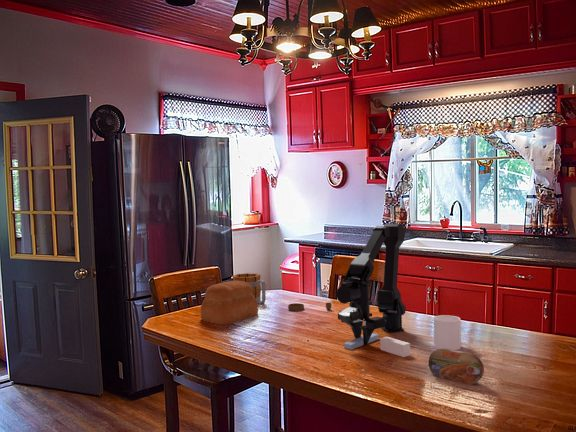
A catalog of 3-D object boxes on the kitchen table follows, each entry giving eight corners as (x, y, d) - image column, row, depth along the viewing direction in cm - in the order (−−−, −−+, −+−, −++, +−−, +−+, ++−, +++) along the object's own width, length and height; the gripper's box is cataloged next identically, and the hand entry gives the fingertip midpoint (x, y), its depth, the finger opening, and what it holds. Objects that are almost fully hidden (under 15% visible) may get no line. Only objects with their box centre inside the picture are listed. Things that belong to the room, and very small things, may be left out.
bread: (262, 319, 221) (261, 280, 220) (226, 330, 204) (224, 288, 203) (233, 314, 232) (232, 276, 231) (196, 324, 215) (195, 284, 214)
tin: (428, 376, 147) (427, 347, 147) (432, 373, 150) (432, 344, 149) (481, 388, 138) (481, 357, 137) (485, 384, 140) (485, 354, 140)
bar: (371, 341, 184) (371, 333, 184) (378, 342, 182) (378, 334, 182) (344, 351, 172) (343, 343, 172) (351, 353, 170) (351, 344, 170)
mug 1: (227, 307, 247) (226, 275, 246) (248, 302, 256) (247, 272, 256) (254, 312, 233) (253, 279, 232) (276, 307, 242) (275, 276, 242)
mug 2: (471, 347, 173) (470, 316, 173) (452, 355, 165) (452, 322, 165) (447, 342, 179) (447, 312, 179) (428, 350, 171) (428, 318, 171)
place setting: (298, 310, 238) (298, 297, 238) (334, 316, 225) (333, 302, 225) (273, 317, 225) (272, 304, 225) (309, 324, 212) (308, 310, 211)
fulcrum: (369, 355, 167) (369, 340, 167) (395, 348, 174) (395, 333, 174) (394, 364, 158) (394, 348, 158) (421, 356, 165) (420, 341, 165)
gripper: (325, 297, 180) (326, 342, 180) (362, 306, 164) (363, 354, 165) (349, 293, 186) (350, 336, 187) (387, 301, 171) (387, 348, 171)
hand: (361, 343), depth 177 cm, fingers closed on bar, 3 cm apart
